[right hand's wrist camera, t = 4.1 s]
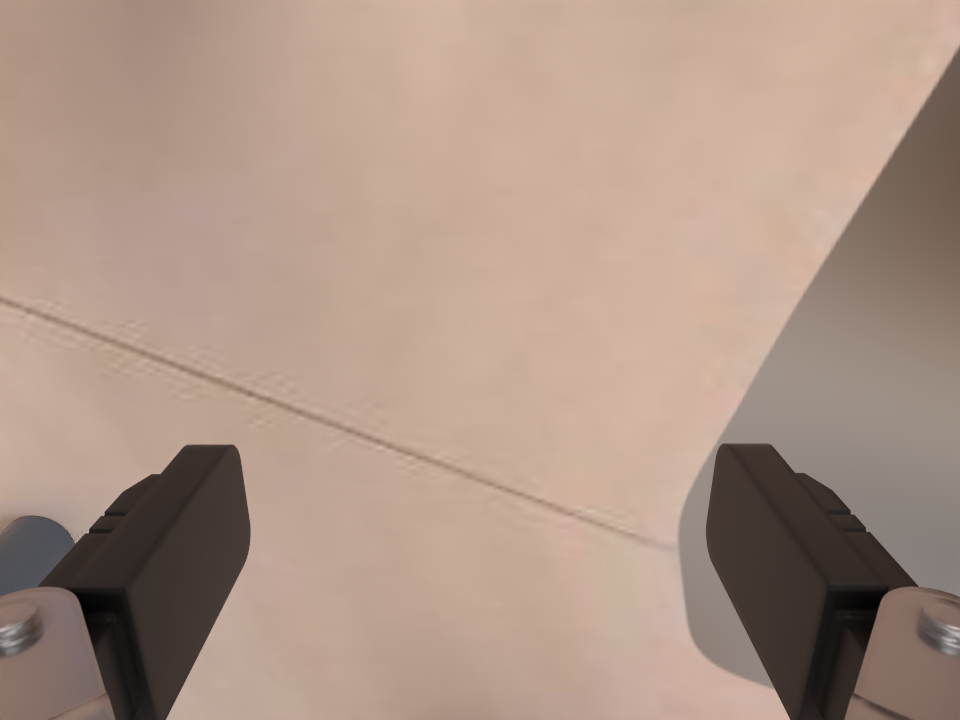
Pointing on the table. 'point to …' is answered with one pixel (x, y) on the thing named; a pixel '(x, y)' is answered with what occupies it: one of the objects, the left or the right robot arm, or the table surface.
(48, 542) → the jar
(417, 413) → the table surface
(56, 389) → the table surface
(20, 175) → the table surface
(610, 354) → the table surface
